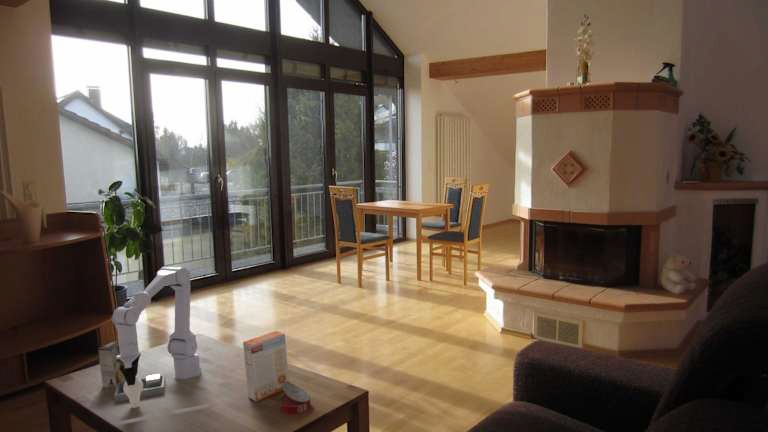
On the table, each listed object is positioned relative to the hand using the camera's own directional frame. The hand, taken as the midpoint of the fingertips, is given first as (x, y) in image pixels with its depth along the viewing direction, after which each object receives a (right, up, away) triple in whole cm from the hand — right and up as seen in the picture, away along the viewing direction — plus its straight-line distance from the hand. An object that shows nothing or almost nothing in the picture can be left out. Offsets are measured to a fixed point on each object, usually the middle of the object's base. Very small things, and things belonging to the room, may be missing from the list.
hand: (132, 380), depth 178 cm
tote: (-3, -9, +12) cm, 16 cm away
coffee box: (-15, -8, +21) cm, 27 cm away
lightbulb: (0, -11, +1) cm, 11 cm away
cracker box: (+44, -8, +9) cm, 46 cm away
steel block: (+1, -8, +14) cm, 16 cm away
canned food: (+56, -9, -1) cm, 57 cm away
